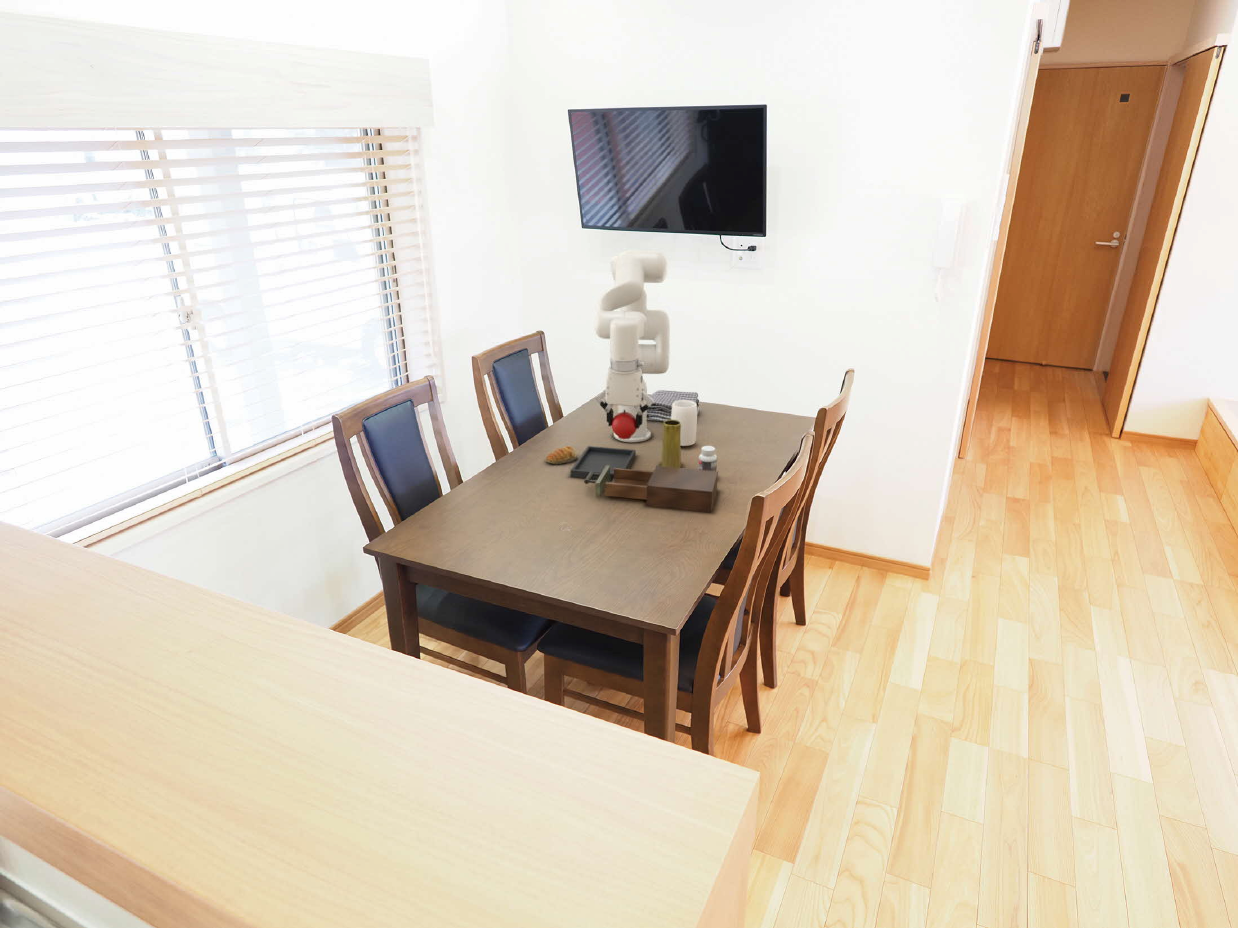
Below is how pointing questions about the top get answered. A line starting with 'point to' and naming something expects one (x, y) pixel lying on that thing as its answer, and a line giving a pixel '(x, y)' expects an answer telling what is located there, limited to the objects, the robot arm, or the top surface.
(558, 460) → the pastry
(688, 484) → the cabinet
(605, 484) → the drawer
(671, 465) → the vase
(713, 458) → the pill bottle
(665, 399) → the towel
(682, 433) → the cup
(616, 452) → the tray
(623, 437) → the apple
